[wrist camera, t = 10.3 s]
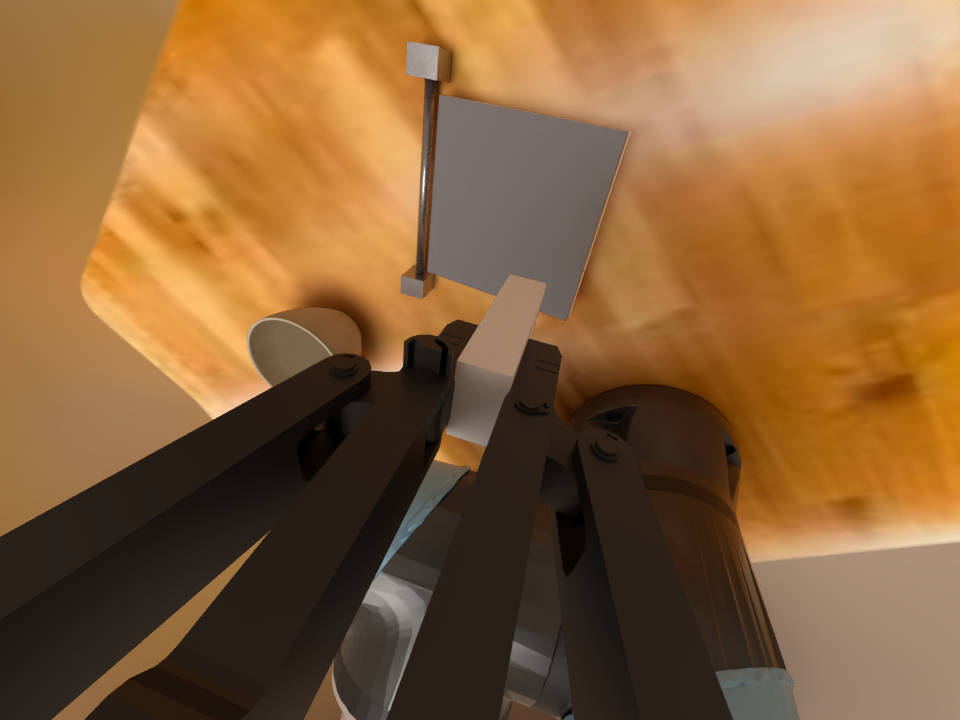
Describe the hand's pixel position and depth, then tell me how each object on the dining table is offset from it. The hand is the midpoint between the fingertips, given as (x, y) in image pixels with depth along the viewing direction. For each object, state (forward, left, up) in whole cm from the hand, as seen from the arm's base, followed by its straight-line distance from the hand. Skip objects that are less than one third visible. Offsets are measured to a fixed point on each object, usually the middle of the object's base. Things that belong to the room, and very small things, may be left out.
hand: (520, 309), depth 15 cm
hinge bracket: (+10, 0, -15) cm, 18 cm away
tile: (+3, 0, -12) cm, 13 cm away
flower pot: (+19, +16, -16) cm, 29 cm away
